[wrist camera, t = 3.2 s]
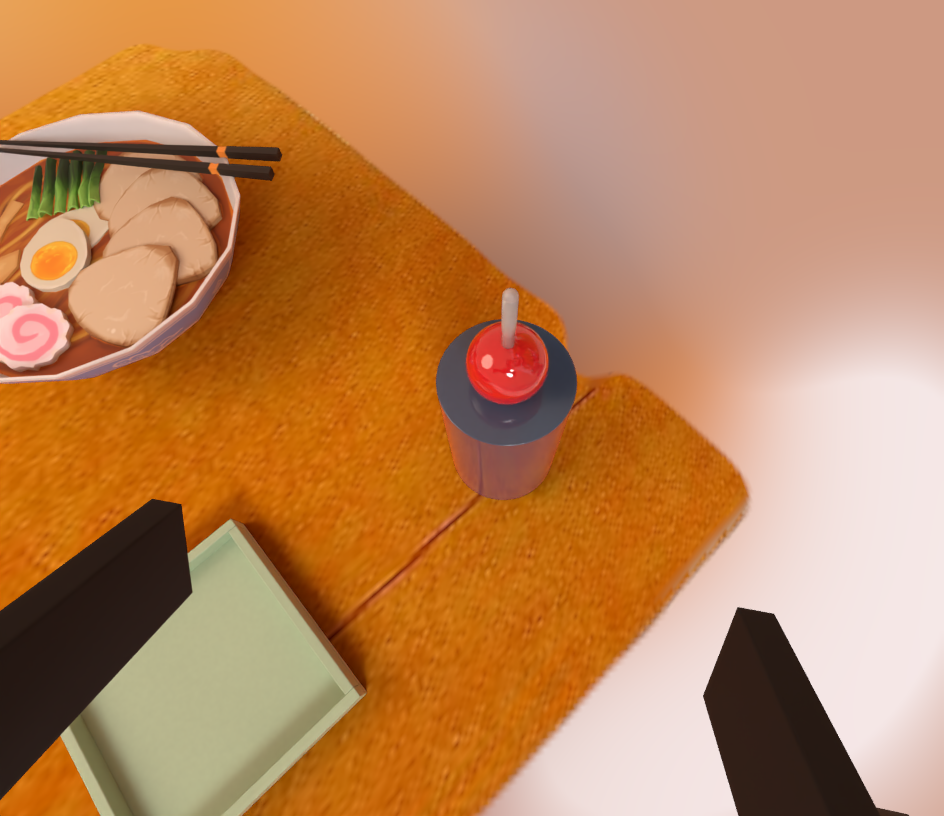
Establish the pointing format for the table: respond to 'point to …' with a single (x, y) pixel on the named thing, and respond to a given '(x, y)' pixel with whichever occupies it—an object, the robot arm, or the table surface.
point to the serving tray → (214, 694)
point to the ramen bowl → (111, 240)
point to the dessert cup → (505, 402)
